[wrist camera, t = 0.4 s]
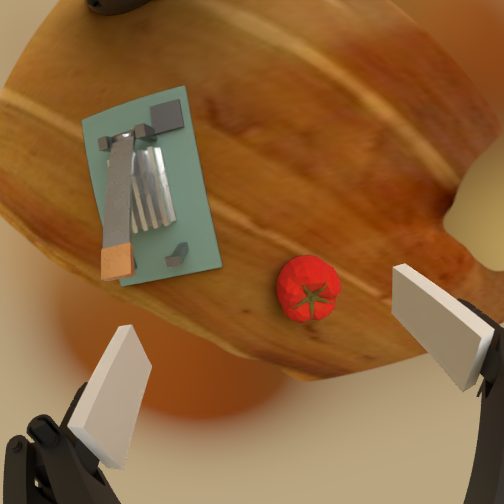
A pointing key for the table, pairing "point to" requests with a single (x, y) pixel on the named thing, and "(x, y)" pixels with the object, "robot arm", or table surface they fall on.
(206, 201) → the board
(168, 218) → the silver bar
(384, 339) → the table surface
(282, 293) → the tomato
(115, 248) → the silver flat strip
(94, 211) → the table surface
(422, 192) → the table surface
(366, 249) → the table surface
